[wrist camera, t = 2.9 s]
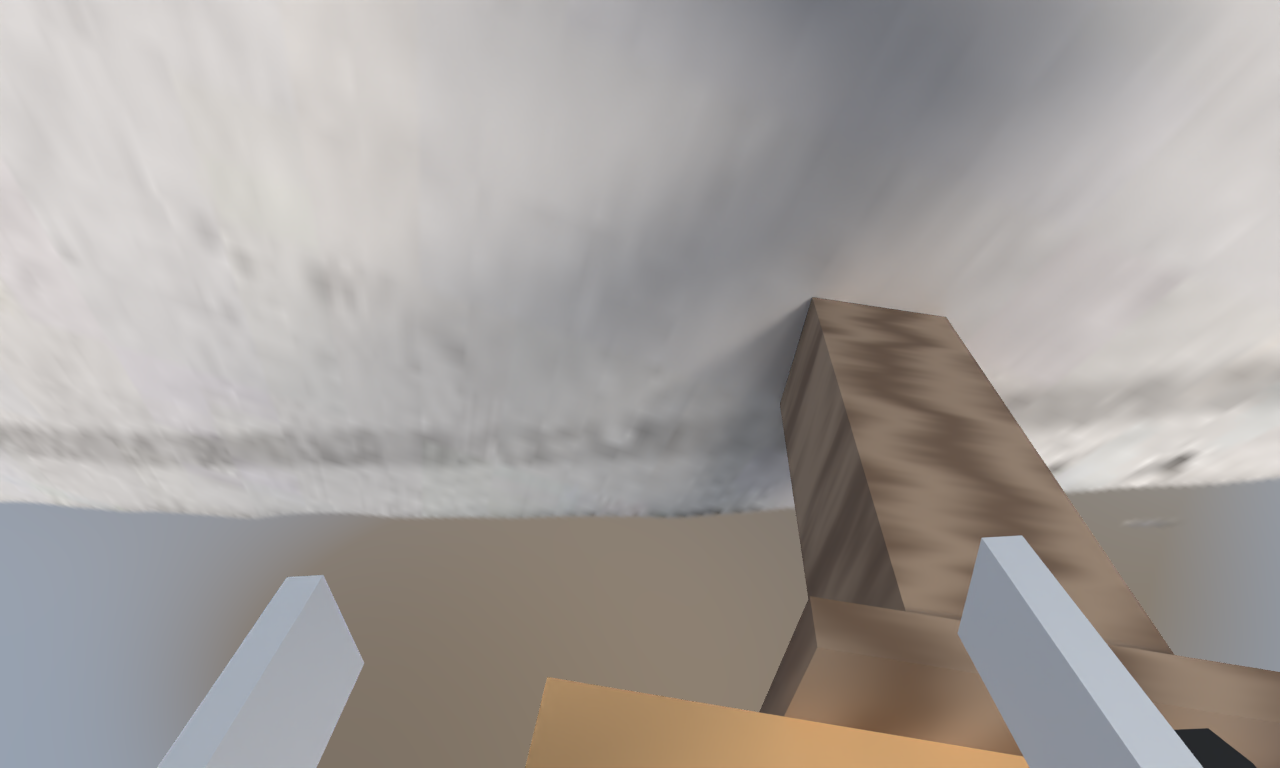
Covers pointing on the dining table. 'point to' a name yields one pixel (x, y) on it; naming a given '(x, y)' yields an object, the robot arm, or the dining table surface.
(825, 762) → the brown block
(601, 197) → the dining table surface
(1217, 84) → the dining table surface
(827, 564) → the walnut stand
